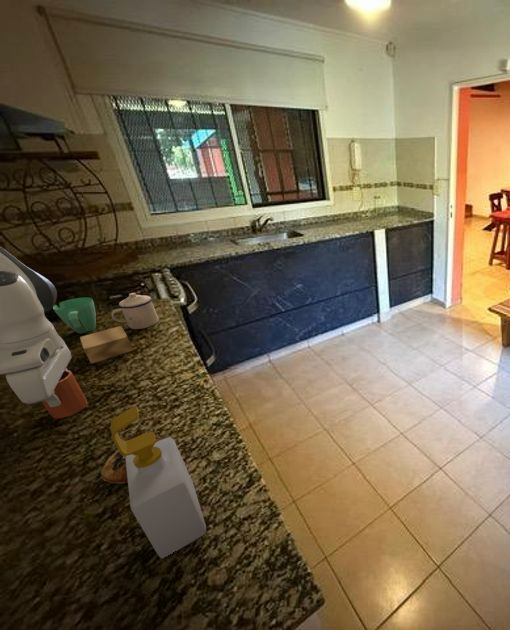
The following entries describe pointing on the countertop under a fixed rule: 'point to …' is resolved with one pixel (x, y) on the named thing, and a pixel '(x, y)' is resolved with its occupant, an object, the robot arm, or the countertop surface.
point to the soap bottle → (159, 488)
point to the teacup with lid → (137, 311)
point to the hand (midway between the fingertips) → (61, 394)
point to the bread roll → (117, 468)
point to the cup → (67, 397)
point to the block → (106, 344)
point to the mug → (78, 314)
